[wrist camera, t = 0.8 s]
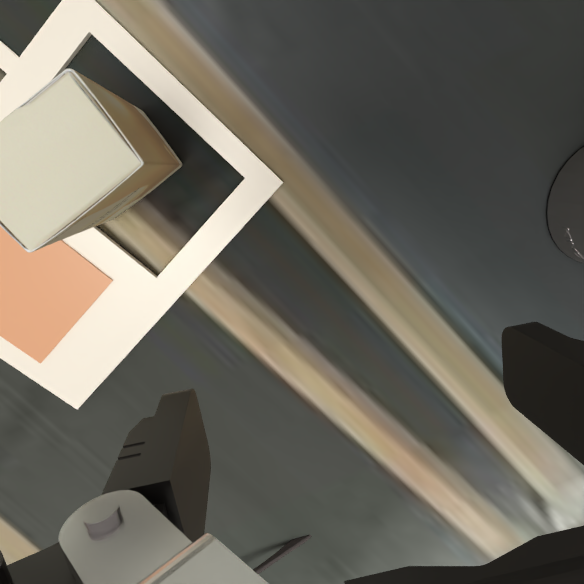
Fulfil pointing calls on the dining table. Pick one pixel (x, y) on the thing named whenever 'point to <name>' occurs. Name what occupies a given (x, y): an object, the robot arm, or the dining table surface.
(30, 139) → the skincare box
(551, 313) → the dining table surface
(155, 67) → the window card
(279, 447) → the dining table surface
